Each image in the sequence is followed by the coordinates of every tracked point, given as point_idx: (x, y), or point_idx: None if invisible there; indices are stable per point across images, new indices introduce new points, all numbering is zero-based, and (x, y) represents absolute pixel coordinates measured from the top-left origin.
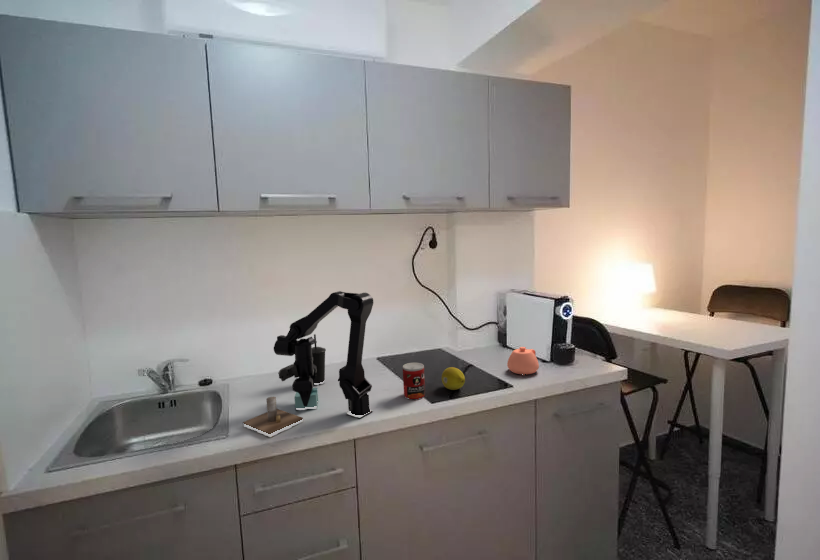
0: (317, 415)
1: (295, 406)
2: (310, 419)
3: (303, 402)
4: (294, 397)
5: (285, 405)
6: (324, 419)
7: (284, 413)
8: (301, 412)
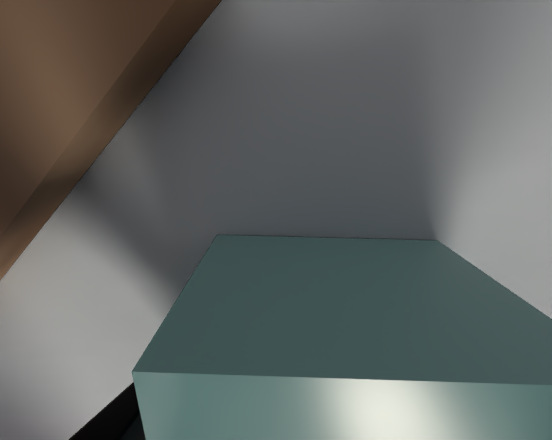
0: (104, 399)
1: (202, 262)
2: (31, 361)
3: (113, 410)
4: (141, 360)
5: (439, 93)
6: (34, 436)
7: (2, 141)
8: (181, 288)
